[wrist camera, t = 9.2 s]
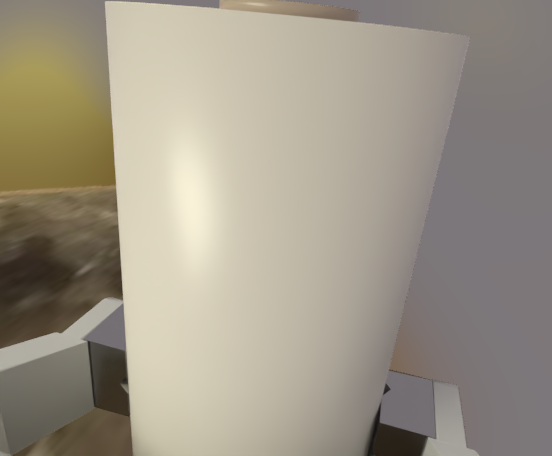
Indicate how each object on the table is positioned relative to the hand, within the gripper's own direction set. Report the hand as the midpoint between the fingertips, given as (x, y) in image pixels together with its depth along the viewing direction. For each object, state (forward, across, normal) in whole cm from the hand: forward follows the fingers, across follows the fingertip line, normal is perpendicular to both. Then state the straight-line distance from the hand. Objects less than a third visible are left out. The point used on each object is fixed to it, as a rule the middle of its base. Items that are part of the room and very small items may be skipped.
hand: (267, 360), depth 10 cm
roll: (-1, 0, +9) cm, 9 cm away
